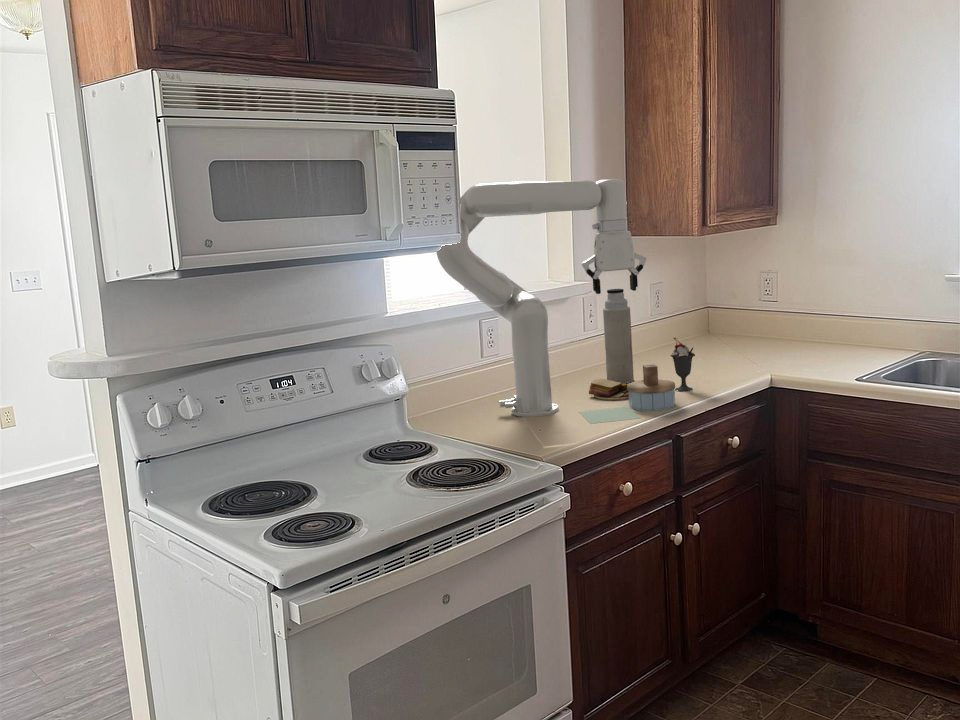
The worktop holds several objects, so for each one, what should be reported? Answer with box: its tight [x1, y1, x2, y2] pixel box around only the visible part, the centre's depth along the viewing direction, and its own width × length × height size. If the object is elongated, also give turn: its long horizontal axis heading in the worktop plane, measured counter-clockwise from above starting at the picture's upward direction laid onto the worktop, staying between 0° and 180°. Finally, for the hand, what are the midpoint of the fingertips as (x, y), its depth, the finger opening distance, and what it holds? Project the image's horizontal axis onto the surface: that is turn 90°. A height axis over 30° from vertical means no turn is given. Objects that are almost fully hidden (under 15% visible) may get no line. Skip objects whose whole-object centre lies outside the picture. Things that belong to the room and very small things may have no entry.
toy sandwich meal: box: [588, 378, 635, 401], centre depth 248 cm, size 12×14×5 cm
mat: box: [578, 406, 642, 425], centre depth 227 cm, size 13×13×1 cm
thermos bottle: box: [602, 288, 635, 384], centre depth 264 cm, size 8×8×28 cm
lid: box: [627, 363, 676, 394], centre depth 232 cm, size 12×12×6 cm
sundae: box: [670, 337, 696, 392], centre depth 248 cm, size 7×7×15 cm
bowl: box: [628, 389, 676, 412], centre depth 233 cm, size 12×12×5 cm
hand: (615, 291), depth 235 cm, fingers open, 9 cm apart
